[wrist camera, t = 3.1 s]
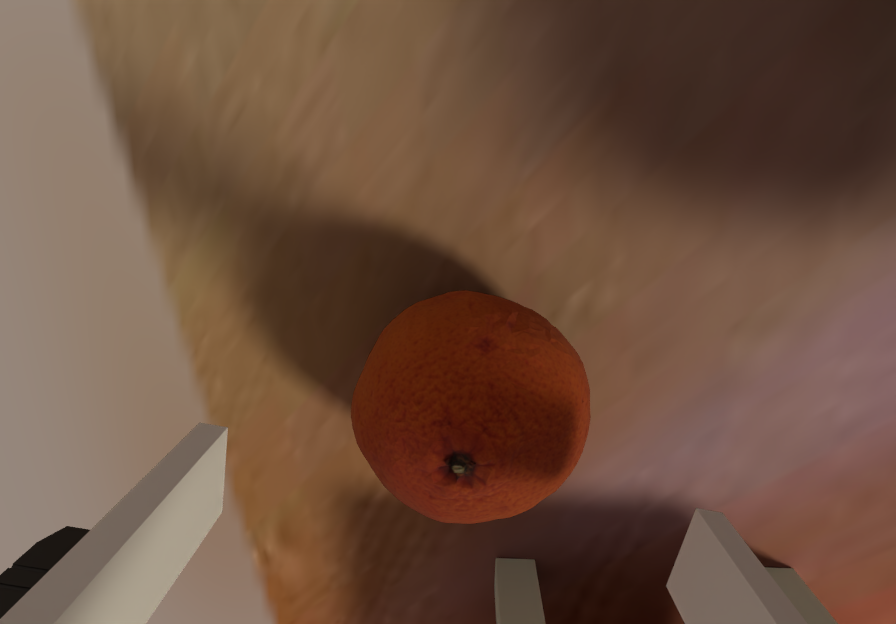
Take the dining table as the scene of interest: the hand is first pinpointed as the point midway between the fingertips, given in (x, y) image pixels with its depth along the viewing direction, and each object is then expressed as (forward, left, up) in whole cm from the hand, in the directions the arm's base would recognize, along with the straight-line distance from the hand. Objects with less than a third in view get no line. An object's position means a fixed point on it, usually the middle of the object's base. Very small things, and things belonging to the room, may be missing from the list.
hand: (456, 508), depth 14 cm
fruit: (0, 0, -10) cm, 10 cm away
